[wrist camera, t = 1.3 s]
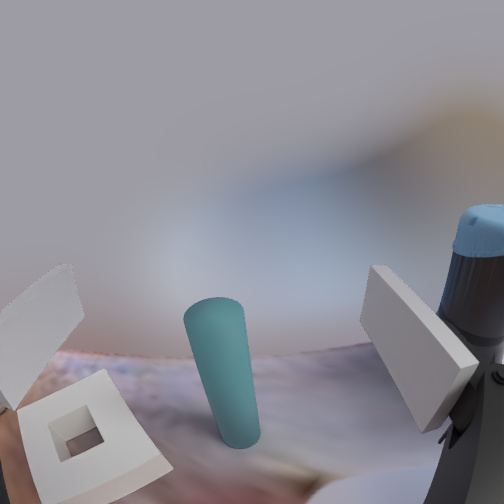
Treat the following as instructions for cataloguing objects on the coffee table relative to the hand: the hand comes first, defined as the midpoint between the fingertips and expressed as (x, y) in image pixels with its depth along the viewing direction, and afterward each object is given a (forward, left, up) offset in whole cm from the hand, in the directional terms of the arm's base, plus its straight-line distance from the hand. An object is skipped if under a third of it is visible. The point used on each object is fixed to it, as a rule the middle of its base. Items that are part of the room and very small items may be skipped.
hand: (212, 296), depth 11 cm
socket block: (+15, +13, -24) cm, 32 cm away
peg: (+6, -4, -24) cm, 25 cm away
